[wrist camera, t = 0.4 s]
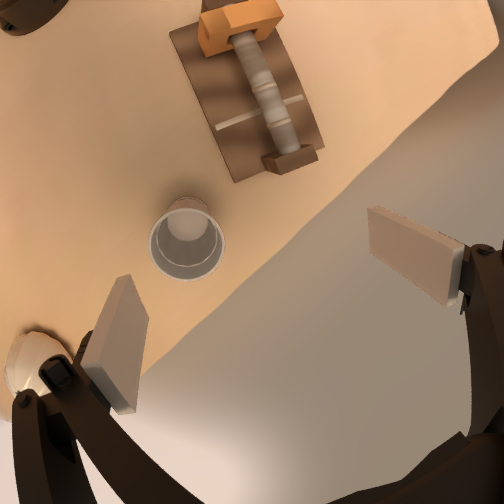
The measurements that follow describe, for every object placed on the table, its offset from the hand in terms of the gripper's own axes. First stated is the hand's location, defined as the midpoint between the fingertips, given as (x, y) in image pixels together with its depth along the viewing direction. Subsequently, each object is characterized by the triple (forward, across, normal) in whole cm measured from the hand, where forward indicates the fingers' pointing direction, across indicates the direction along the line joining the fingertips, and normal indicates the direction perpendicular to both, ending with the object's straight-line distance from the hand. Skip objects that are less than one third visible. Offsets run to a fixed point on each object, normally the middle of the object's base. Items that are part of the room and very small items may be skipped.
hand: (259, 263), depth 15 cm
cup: (+27, -5, -3) cm, 28 cm away
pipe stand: (+27, +8, +13) cm, 31 cm away
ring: (+24, +6, +20) cm, 32 cm away
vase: (+27, -40, -19) cm, 52 cm away
